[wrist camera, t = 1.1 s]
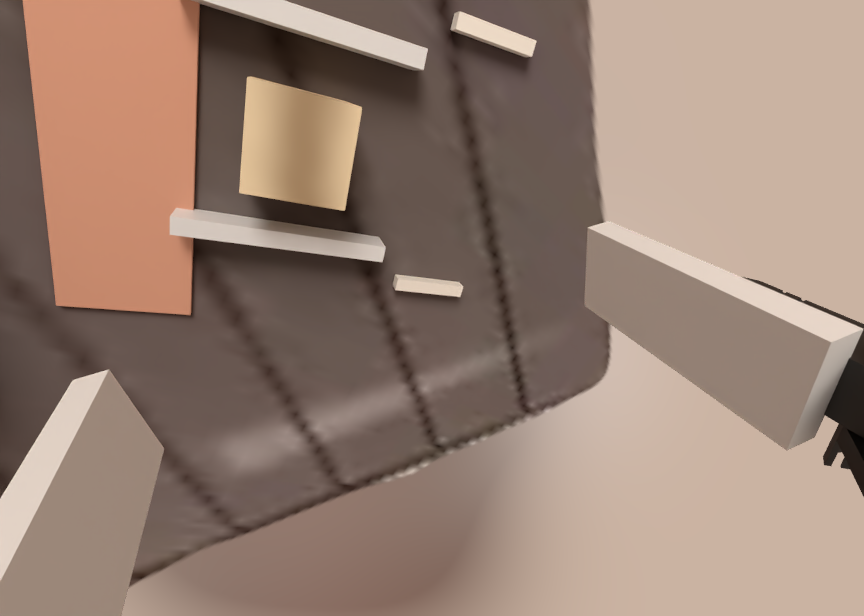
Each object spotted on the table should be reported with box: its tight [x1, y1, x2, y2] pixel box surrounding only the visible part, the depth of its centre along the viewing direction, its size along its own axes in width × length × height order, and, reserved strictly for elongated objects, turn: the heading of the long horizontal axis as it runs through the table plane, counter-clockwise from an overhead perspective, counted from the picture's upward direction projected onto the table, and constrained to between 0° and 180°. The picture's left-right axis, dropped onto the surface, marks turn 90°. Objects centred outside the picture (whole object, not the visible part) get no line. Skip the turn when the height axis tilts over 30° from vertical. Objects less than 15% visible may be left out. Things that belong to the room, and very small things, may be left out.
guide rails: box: [170, 0, 428, 262], centre depth 28 cm, size 14×14×2 cm
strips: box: [393, 11, 536, 297], centre depth 33 cm, size 6×20×1 cm, turn 165°
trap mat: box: [23, 0, 200, 315], centre depth 25 cm, size 8×28×1 cm, turn 165°
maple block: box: [239, 76, 362, 211], centre depth 27 cm, size 6×6×6 cm
